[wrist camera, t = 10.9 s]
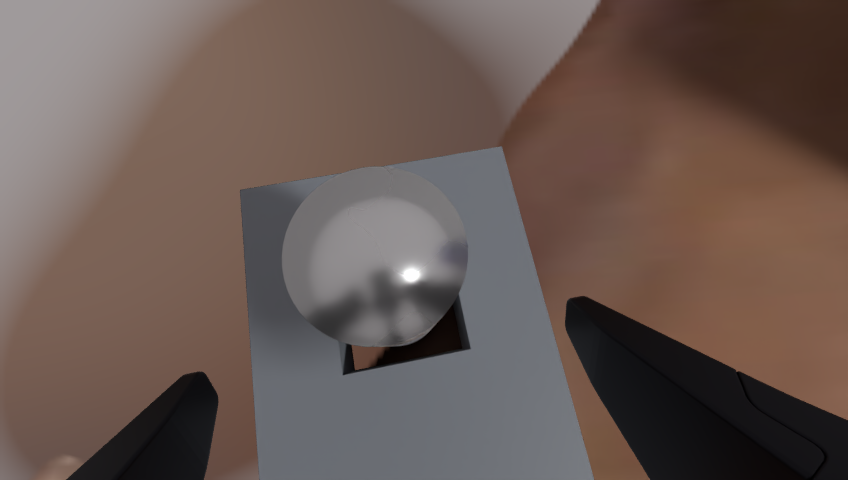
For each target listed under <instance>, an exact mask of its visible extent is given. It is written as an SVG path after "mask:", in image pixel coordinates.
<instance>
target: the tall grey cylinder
mask: <svg viewBox="0 0 848 480" xmlns="http://www.w3.org/2000/svg"><path fill="white" fill-rule="evenodd" d="M467 263H468V244H467V238H466V233H465V230H464V226H463V223H462V221H461V219H460V217H459V214H458V212H457V211H456V209H455V208H454V206H453V204H452V203H451V202H450V201H449V199H448V198H447V197H446V196H445V195H444V194H443V193H442V192H441V191H440V190H439V189H438V188H437V187H436V186H434V185H433V184H432V183H430V182H429V181H427V180H426V179H424V178H422V177H420V176H418V175H416V174H413V173H411V172H408V171H405V170H401V169H398V168H392V167H377V166H373V167H363V168H358V169H354V170H350V171H347V172H345V173H341V174H339V175H337V176H335V177H333V178H331V179H329V180H327V181H326V182H324V183H323V184H321V185H320V186H319V187H317V188H316V189H315V190H314V191H313V192H311V193H310V194H309V196H308V197H307V198H306V199H305V200H304V201H303V202H302V203H301V205H300V206H299V208H298V209H297V210H296V212H295V214H294V216H293V217H292V219H291V221H290V223H289V226H288V229H287V231H286V234H285V238H284V242H283V250H282V270H283V276H284V281H285V284H286V287H287V290H288V293H289V295H290V297H291V299H292V301H293V303H294V304H295V306H296V307H297V309H298V310H299V312H300V313H301V314H302V315H303V317H304V318H305V319H306V320H307V321H308V322H309V323H310V324H312V325H313V326H314V327H315V328H316V329H317V330H319V331H321V332H322V333H324V334H325V335H327V336H329V337H331V338H333V339H336V340H338V341H340V342H344V343H347V344H351V345H356V346H363V347H389V346H406V345H410V344H413V343H415V342H417V341H419V340H421V339H422V338H423V337H424V336H425V335H426V334H427V333H428V332H429V331H430V330H431V329H432V328H433V327H434V326H435V325H436V324H437V322H438V321H439V320H440V319H441V318H442V317H443V316H444V315H445V314H446V312H447V311H448V310H449V308H450V307H451V306H452V304H453V303H454V301H455V299H456V298H457V296H458V294H459V292H460V290H461V287H462V284H463V282H464V279H465V274H466V270H467Z"/></svg>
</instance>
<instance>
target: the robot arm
mask: <svg viewBox="0 0 848 480" xmlns="http://www.w3.org/2000/svg"><path fill="white" fill-rule="evenodd" d="M565 327H566V331H567V333H568V336H569V338H570V340H571V342H572V344H573V346H574V348H575V350H576V352H577V354H578V356H579V359H580V361H581V363H582V365H583V367H584V369H585V371H586V373H587V375H588V377H589V379H590V381H591V383H592V385H593V387H594V389H595V390H596V392H597V394H598V396H599V397H600V399H601V400H602V402H603V404H604V405H605V407H606V409H607V410H608V412H609V413H610V415H611V417H612V418H613V420H614V422H615V423H616V425H617V426H618V428H619V430H620V431H621V433H622V435H623V436H624V438H625V439H626V441H627V443H628V444H629V446H630V448H631V449H632V451H633V452H634V454H635V456H636V457H637V459H638V461H639V462H640V464H641V465H642V467H643V469H644V470H645V472H646V473H647V475H648V477H649V478H650V480H848V420H846V419H843V418H841V417H839V416H836V415H834V414H832V413H829V412H827V411H825V410H822V409H820V408H818V407H815V406H813V405H811V404H809V403H806V402H804V401H802V400H799V399H797V398H795V397H793V396H790V395H788V394H786V393H784V392H782V391H780V390H778V389H775V388H773V387H771V386H769V385H767V384H765V383H763V382H760V381H758V380H756V379H754V378H752V377H750V376H748V375H746V374H744V373H742V372H740V371H738V372H736V370H735V369H733V368H731V367H729V366H727V365H725V364H723V363H721V362H719V361H717V360H715V359H713V358H711V357H709V356H707V355H705V354H703V353H701V352H699V351H697V350H695V349H692V348H690V347H688V346H686V345H684V344H682V343H680V342H678V341H676V340H674V339H672V338H670V337H668V336H666V335H664V334H662V333H660V332H658V331H656V330H653V329H651V328H649V327H647V326H645V325H643V324H641V323H639V322H637V321H635V320H633V319H631V318H629V317H627V316H625V315H623V314H621V313H619V312H617V311H614V310H612V309H610V308H608V307H606V306H604V305H602V304H600V303H598V302H596V301H594V300H592V299H590V298H588V297H585V296H579V297H574V298H570V299H568V301H567V305H566V317H565ZM217 408H218V395H217V393H216V391H215V389H214V387H213V386H212V384H211V382H210V381H209V379H208V377H207V376H206V374H205V373H204V372H194V373H189V374H185V375H183V376H182V377H180V378H179V379H178V380H177V381H176V382H175V383H174V384H172V385H171V386H170V387H169V388H168V389H167V390H166V391H165V392H163V393H162V394H161V395H160V396H159V397H158V398H157V399H156V400H155V401H154V402H152V403H151V404H150V405H149V406H148V407H147V408H146V409H144V410H143V411H142V412H141V413H140V414H139V415H138V416H137V417H136V418H135V419H133V420H132V421H131V422H130V423H129V424H128V425H127V426H126V427H124V428H123V429H122V430H121V431H120V432H119V433H118V434H117V435H116V436H114V438H112V439H111V440H110V441H109V442H108V443H107V444H105V445H104V446H103V447H102V448H101V449H100V450H99V451H98V452H97V453H95V454H94V455H93V456H92V457H91V458H90V459H89V460H88V461H87V462H85V463H84V464H83V465H82V466H81V467H80V468H79V469H78V470H76V471H75V472H74V473H73V474H72V475H71V476H70V477H69V478H68V479H66V480H204V476H205V472H206V469H207V464H208V459H209V454H210V448H211V442H212V436H213V431H214V425H215V419H216V414H217Z"/></svg>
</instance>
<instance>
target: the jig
mask: <svg viewBox="0 0 848 480" xmlns="http://www.w3.org/2000/svg"><path fill="white" fill-rule="evenodd" d="M381 167H392V168H398V169H401V170H405V171H408V172H411V173H413V174H416V175H418V176H420V177H422V178H424V179H426V180H427V181H429V182H430V183H432V184H433V185H434V186H436V187H437V188H438V189H439V190H440V191H441V192H442V193H443V194H444V195H445V196H446V197H447V198H448V199H449V201H450V202H451V203H452V204H453V206H454V208H455V209H456V211H457V212H458V214H459V217H460V219H461V221H462V223H463V226H464V230H465V233H466V238H467V244H468V263H467V270H466V274H465V279H464V282H463V284H462V287H461V290H460V292H459V294H458V296H457V298H456V299H455V301H454V303H453V307H454V312H455V317H456V322H457V326H458V331H459V336H460V340H461V345H462V349H458V350H453V351H448V352H443V353H438V354H433V355H429V356H424V357H419V358H414V359H409V360H404V361H399V362H394V363H389V364H384V365H379V366H374V367H369V368H364V369H360V370H355V368H354V360H353V353H352V346H351V344H347V343H344V342H340V341H338V340H336V339H333V338H331V337H329V336H327V335H325V334H324V333H322V332H321V331H319V330H317V329H316V328H315V327H314V326H313V325H312V324H310V323H309V322H308V321H307V320H306V319H305V318H304V317H303V315H302V314H301V313H300V312H299V310H298V309H297V307H296V306H295V304H294V303H293V301H292V299H291V297H290V295H289V293H288V290H287V287H286V284H285V281H284V276H283V270H282V250H283V242H284V238H285V234H286V231H287V229H288V226H289V223H290V221H291V219H292V217H293V216H294V214H295V212H296V210H297V209H298V208H299V206H300V205H301V203H302V202H303V201H304V200H305V199H306V198H307V197H308V196H309V194H310V193H311V192H313V191H314V190H315V189H316V188H317V187H319V186H320V185H321V184H323V183H324V182H326V181H327V180H329V179H331V178H333V177H335V176H337V175H339V174H333V175H328V176H321V177H315V178H309V179H303V180H297V181H291V182H285V183H279V184H273V185H267V186H261V187H255V188H249V189H243V190H240V197H241V212H242V227H243V241H244V258H245V273H246V288H247V303H248V317H249V333H250V348H251V363H252V378H253V393H254V408H255V423H256V438H257V454H258V469H259V480H594V477H593V474H592V470H591V467H590V463H589V459H588V456H587V452H586V449H585V445H584V441H583V438H582V434H581V431H580V427H579V423H578V420H577V416H576V413H575V409H574V405H573V402H572V398H571V395H570V391H569V387H568V384H567V380H566V377H565V373H564V369H563V366H562V362H561V359H560V355H559V351H558V348H557V344H556V341H555V337H554V333H553V330H552V326H551V323H550V319H549V315H548V312H547V308H546V305H545V301H544V297H543V294H542V290H541V287H540V283H539V279H538V276H537V272H536V269H535V265H534V261H533V258H532V254H531V251H530V247H529V243H528V240H527V236H526V233H525V229H524V225H523V222H522V218H521V215H520V211H519V207H518V204H517V200H516V197H515V193H514V189H513V186H512V182H511V179H510V175H509V171H508V168H507V164H506V161H505V157H504V153H503V150H502V147H496V148H490V149H484V150H477V151H472V152H466V153H459V154H453V155H447V156H441V157H435V158H429V159H423V160H417V161H411V162H406V163H399V164H393V165H387V166H381ZM340 174H341V173H340Z"/></svg>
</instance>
